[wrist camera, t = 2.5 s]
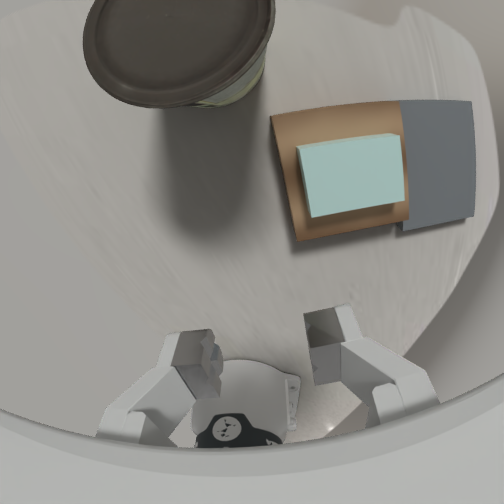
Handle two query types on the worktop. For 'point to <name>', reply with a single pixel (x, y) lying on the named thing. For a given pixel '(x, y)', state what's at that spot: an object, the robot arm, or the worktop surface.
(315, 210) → the block
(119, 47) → the coffee can
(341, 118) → the brown square plate
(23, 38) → the worktop surface
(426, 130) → the grey flat slab
